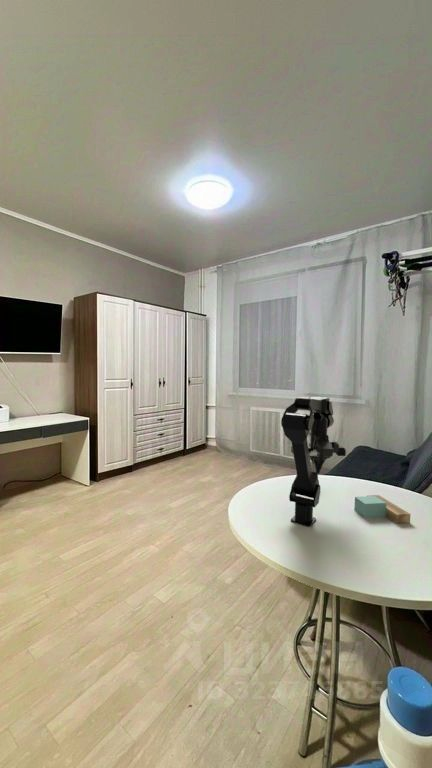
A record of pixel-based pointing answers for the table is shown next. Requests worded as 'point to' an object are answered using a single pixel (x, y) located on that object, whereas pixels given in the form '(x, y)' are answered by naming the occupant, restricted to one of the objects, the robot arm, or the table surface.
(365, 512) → the block
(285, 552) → the table surface
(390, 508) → the board
